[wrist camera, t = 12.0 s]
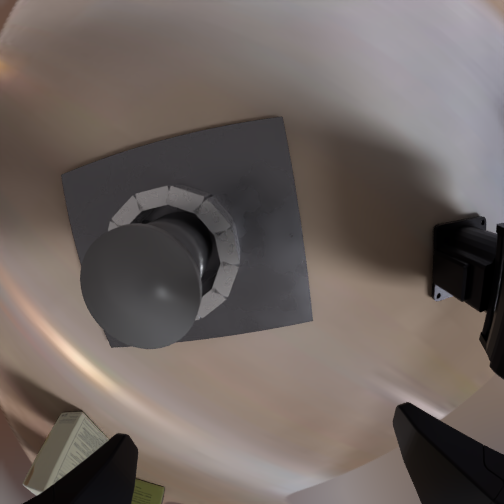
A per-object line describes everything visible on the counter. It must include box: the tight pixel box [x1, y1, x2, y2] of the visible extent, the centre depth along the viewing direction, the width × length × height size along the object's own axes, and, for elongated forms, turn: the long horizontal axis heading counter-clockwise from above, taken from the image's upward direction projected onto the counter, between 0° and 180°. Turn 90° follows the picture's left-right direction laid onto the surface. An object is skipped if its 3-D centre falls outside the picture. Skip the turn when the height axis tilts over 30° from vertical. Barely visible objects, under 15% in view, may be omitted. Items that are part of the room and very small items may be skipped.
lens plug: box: [80, 212, 212, 349], centre depth 14 cm, size 5×5×8 cm
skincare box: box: [23, 412, 109, 496], centre depth 18 cm, size 6×4×12 cm
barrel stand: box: [61, 117, 313, 348], centre depth 17 cm, size 16×14×4 cm
